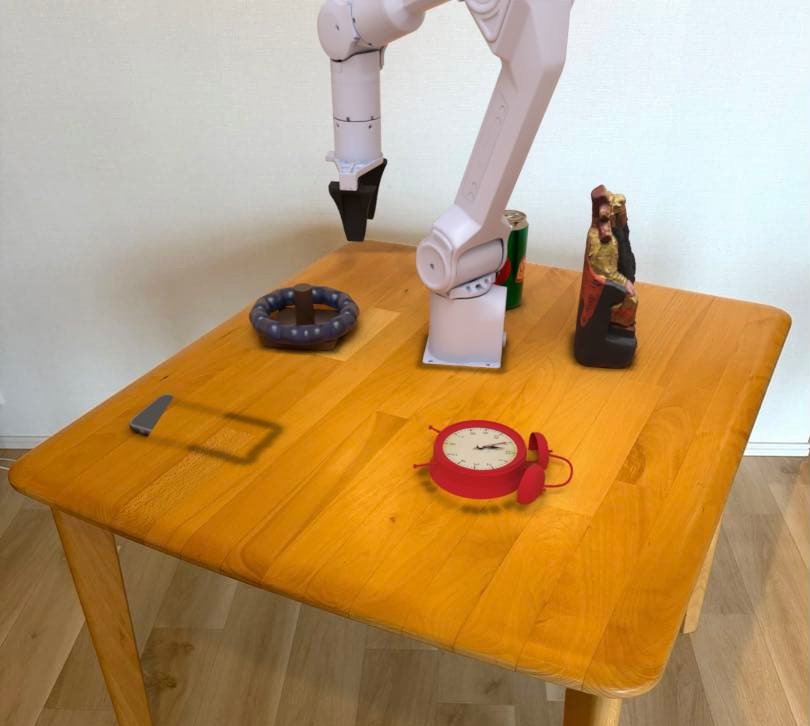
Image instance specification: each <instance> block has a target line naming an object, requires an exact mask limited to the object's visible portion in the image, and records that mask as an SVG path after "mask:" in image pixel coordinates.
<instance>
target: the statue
mask: <svg viewBox="0 0 810 726" xmlns="http://www.w3.org/2000/svg"><path fill="white" fill-rule="evenodd" d="M590 200H591V222H590V223H591V224H590V227H589V228H588V230H587V234H586V240H585V250H584V256H583V266H582V275H581V283H580V284H581V285H580V289H579V290H580V291H579V298H578V304H577V312H576V319H575V332H574V338H573V355H574V359H575V360H576V361H577V362H578V363H579V364H581V365H584V366H588V367H597V368H598V367H600V368H612V369H613V368H614V369H623V368H626V367H630V366H631V364H632V362H633V360H634V357H635V355H636V351H637V348H638V339H637V336H636V332H637V331H636V325H637V321H636V318H637V317H636V316H637V311H638V306H639V294H638V292H637V290H636V288H635V285H634V284H635V282H636V276H635V275H636V272H637V271H636V270H637V262H636V258H635V253H634V252H633V250H632V246H631V241H630V232H631V230H630V228H629V224H628V221H629V218H628V214H627V213H628V212H627V207H626V203H627V199H626V196H625V194H623V193H613V192H612V191H611V190H608V189H607V188H606V186H605V185H604V184H599V185H597V186H595V187H594V188H593V189H592V190H591V192H590Z"/></svg>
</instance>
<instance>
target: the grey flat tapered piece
mask: <svg viewBox="0 0 810 726" xmlns="http://www.w3.org/2000/svg"><path fill="white" fill-rule="evenodd" d="M174 397H175V395H174V394H171V393H170V394H169V393H165V394H162V395H160V396H157V398H155V399H154V400H153V401H152V402H150V403H149V404H147V406H146V407H144V408H143V409H142V410H141V411H139V412H138V413H137V414H136V415H134V417H132V418H131V419H130V421H129V423H128V426H129V428H130V430H132V431H134V432H137V433H140V434H144V435H148V436H150V434H151V433H152V431H153V430H154V428H155V427H156V425H158V422H159V420H161V417H162V416H163V414H164V413H165V411H166V410H167V408H168V407H169V405H170V404H171V402H172V400H173V399H174Z"/></svg>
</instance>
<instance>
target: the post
mask: <svg viewBox="0 0 810 726" xmlns="http://www.w3.org/2000/svg"><path fill="white" fill-rule="evenodd" d="M293 286H294V287H293ZM293 286H292V287H293V293H294V304H295V305H294V306H288V307H283V308H281V309H279V310H277V311H276V313H275V315H274V318H273V319H272V320H275V321H277V322H280V323H283V324H290V325H311V324H316V323H322V322H327V321H329V320H330V319H332V318H334V317H336V316H338V315H339V311H338V310H336V309H325V308H315V304H313V290H312V286H313V285H312V284H310V283H307V282H306V283H305V282H301V283H297V284H294V285H293ZM262 341H263V347H270V348H283V349H300V350H314V351H315V350H316V351H331V352H332V351H334V350H335V348H336V345H337V343H338V342H339V338H337V339H335V340H333V341H328V342H323V343H318V344H313V345H291V344H280V343H277V342H275V341H272V340H270V339H267V338H265V337H262Z"/></svg>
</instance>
